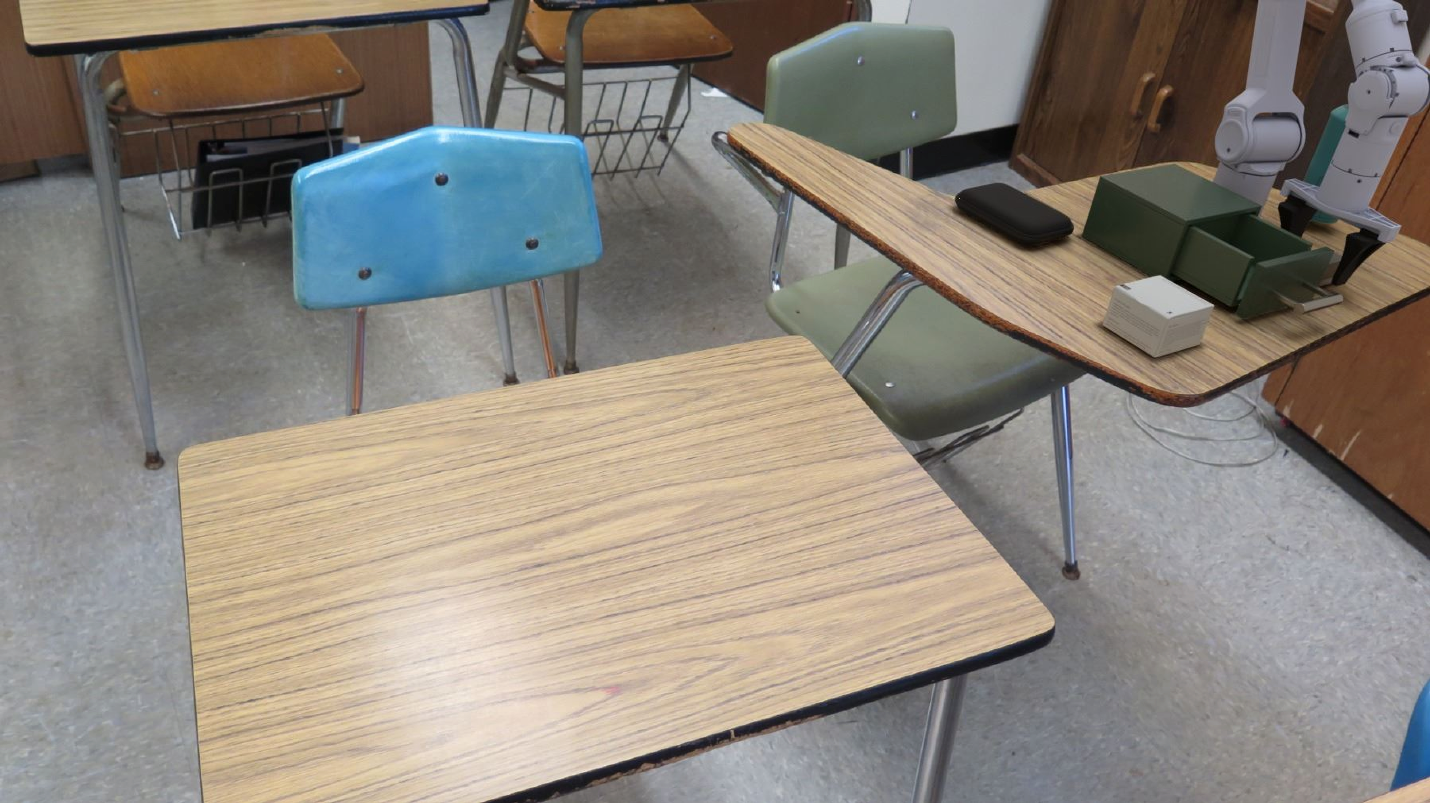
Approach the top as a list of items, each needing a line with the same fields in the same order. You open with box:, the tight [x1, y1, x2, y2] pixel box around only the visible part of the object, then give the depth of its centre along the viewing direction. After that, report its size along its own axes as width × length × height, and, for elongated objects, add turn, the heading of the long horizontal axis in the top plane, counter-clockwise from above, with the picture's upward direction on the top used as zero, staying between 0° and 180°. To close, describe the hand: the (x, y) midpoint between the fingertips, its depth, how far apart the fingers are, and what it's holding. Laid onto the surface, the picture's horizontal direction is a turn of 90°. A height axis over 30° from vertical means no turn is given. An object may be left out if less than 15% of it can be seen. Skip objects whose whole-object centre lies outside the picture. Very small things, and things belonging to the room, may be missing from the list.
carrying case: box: [954, 182, 1075, 248], centre depth 142 cm, size 11×3×15 cm
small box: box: [1102, 275, 1215, 358], centre depth 119 cm, size 8×8×5 cm
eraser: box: [1319, 252, 1342, 288], centre depth 135 cm, size 8×4×3 cm, turn 119°
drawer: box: [1171, 213, 1344, 320], centre depth 128 cm, size 18×13×7 cm
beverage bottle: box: [1302, 80, 1356, 225], centre depth 146 cm, size 6×7×20 cm
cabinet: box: [1081, 163, 1262, 283], centre depth 137 cm, size 14×14×8 cm
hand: (1311, 270), depth 135 cm, fingers open, 7 cm apart
